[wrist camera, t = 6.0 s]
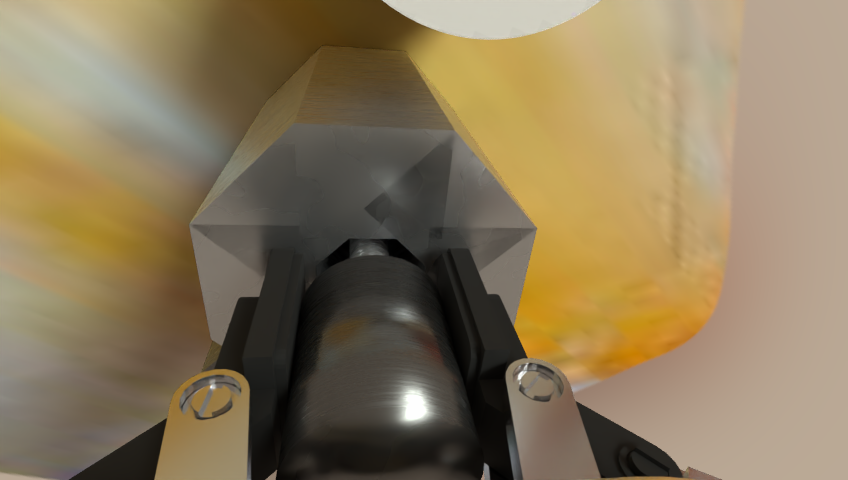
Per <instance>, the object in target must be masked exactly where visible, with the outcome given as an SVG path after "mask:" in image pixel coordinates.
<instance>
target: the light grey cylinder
mask: <svg viewBox="0 0 848 480" xmlns="http://www.w3.org/2000/svg"><path fill="white" fill-rule="evenodd" d="M382 1H384V2H385V3H386V4H388V5H389V6H390V7H392V8H393V9H395V10H396V11H398V12H400V13H401V14H403V15H404V16H406V17H408V18H410V19H412V20H414V21H415V22H417V23H420V24H422V25H424V26H427V27H429V28H431V29H434V30H437V31H440V32H443V33H447V34H451V35H455V36H459V37H466V38H473V39H507V38H515V37H521V36H525V35H530V34H534V33H537V32H541V31H544V30H547V29H549V28H552V27H555V26H557V25H559V24H562V23H564V22H566V21H568V20H570V19H572V18H574V17H576V16H577V15H579V14H581V13H583V12H584V11H586V10H588V9H589V8H591V7H592V6H594V5H595V4H597V3H598V2H599V1H601V0H382Z"/></svg>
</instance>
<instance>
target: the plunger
mask: <svg viewBox="0 0 848 480" xmlns="http://www.w3.org/2000/svg"><path fill="white" fill-rule="evenodd" d="M483 471H484V456H483V452H482V448H481V445H480V441H479V437H478V433H477V430H476V426H475V422H474V419H473V415H472V411H471V407H470V404H469V400H468V396H467V393H466V389H465V385H464V381H463V378H462V374H461V370H460V367H459V363H458V359H457V355H456V352H455V348H454V344H453V341H452V337H451V333H450V329H449V326H448V322H447V318H446V315H445V311H444V307H443V303H442V300H441V296H440V293H439V290H438V288H437V286H436V284H435V283H434V281H433V280H432V279H431V278H430V276H429V275H428V274H427V273H426V272H424V271H423V270H422V269H421V268H419V267H417V266H416V265H414V264H412V263H410V262H408V261H405V260H403V259H399V258H396V257H391V256H389V251H388V244H387V239H365V238H350V259H347V260H344V261H342V262H339V263H337V264H335V265H333V266H331V267H330V268H328V269H327V270H325V271H324V272H323V273H321V274H320V275H319V276H318V277H317V278H316V279H315V280H314V281H313V282H312V284H311V285H310V286H309V288H308V290H307V291H306V293H305V296H304V298H303V301H302V308H301V314H300V321H299V328H298V335H297V342H296V348H295V355H294V362H293V369H292V376H291V383H290V389H289V396H288V401H287V407H286V414H285V421H284V427H283V434H282V441H281V448H280V455H279V461H278V468H277V475H276V480H481V478H482V475H483Z"/></svg>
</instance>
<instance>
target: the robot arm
mask: <svg viewBox="0 0 848 480" xmlns="http://www.w3.org/2000/svg"><path fill="white" fill-rule="evenodd" d="M436 286H437V288H438V290H439V293H440V296H441V300H442V303H443V307H444V311H445V315H446V318H447V322H448V326H449V329H450V333H451V337H452V341H453V344H454V348H455V352H456V355H457V359H458V363H459V367H460V370H461V374H462V378H463V381H464V385H465V389H466V393H467V396H468V400H469V404H470V407H471V411H472V415H473V419H474V422H475V426H476V430H477V433H478V437H479V441H480V445H481V448H482V452H483V456H484V477H485V480H722V479H719V478H716V477H714V476H711V475H709V474H706V473H704V472H701V471H698V470H696V469H693V468H691V467H688V468H687V469H686V471H683V470H680V469H679V467H678V466H677V465H676V463H675V462H674V461H673V460H672V459H671V458H670V457H669V456H668V454H666V453H665V452H664V451H662V450H661V449H660V448H658V447H657V446H655V445H653V444H652V443H650V442H648V441H646V440H644V439H643V438H641V437H639V436H637V435H636V434H634V433H632V432H630V431H628V430H626V429H625V428H623V427H621V426H619V425H618V424H616V423H614V422H612V421H611V420H609V419H607V418H605V417H603V416H601V415H600V414H598V413H596V412H594V411H593V410H591V409H589V408H587V407H585V406H584V405H582V404H580V403H578V402H576V401H575V398H574V395H573V392H572V389H571V386H570V383H569V381H568V379H567V377H566V376H565V375H564V374H563V373H562V372H561V371H560V370H559V369H558V368H557V367H555V366H554V365H552V364H550V363H548V362H545V361H543V360H539V359H534V358H527V356H526V353H525V351H524V349H523V347H522V344H521V342H520V340H519V338H518V335H517V333H516V331H515V329H514V326H513V324H512V322H511V320H510V318H509V315H508V313H507V311H506V309H505V306H504V304H503V302H502V300H501V298H500V296H499V295H498V294H487V291H486V289H485V287H484V284H483V282H482V279H481V277H480V274H479V272H478V270H477V267H476V265H475V262H474V260H473V257H472V255H471V253H470V250H469V249H468V248H448V250H447V253H441V255H440V259H439V268H438V276H437V284H436ZM305 293H306V290H305V271H304V255H303V253H296V250H295V248H273V249H272V253H271V256H270V260H269V263H268V267H267V270H266V274H265V278H264V281H263V285H262V288H261V292H260V295H259V297H240V298H239V299H238V301H237V303H236V306H235V309H234V312H233V315H232V318H231V321H230V324H229V327H228V330H227V333H226V336H225V339H224V341H223V344H222V347H221V350H220V353H219V356H218V359H217V362H216V365H215V368H214V370H210V371H206V372H202V373H200V374H198V375H196V376H193V377H191V378H190V379H189V380H187V381H186V382H185V383H183V384H182V385H181V386H180V387H179V388H178V389H177V391H176V392H175V393H174V395H173V398H172V400H171V403H170V408H169V412H168V417H167V418H166V419H165V420H163V421H162V422H160V423H158V424H157V425H155V426H154V427H152V428H150V429H149V430H147V431H146V432H144V433H142V434H141V435H139V436H138V437H136V438H134V439H133V440H131V441H130V442H128V443H127V444H125V445H123V446H122V447H120V448H119V449H117V450H115V451H114V452H112V453H111V454H109V455H107V456H106V457H104V458H103V459H101V460H99V461H98V462H96V463H95V464H93V465H91V466H90V467H88V468H87V469H85V470H84V471H82V472H80V473H79V474H77V475H76V476H74V477H72V478H71V479H69V480H265V479H266V478H268V477H269V476H270V475H271V474H272V473H274V472H275V471H276V470H277V468H278V461H279V455H280V448H281V441H282V434H283V427H284V421H285V414H286V407H287V401H288V396H289V389H290V383H291V376H292V369H293V362H294V355H295V348H296V342H297V335H298V328H299V321H300V314H301V308H302V301H303V298H304V296H305Z"/></svg>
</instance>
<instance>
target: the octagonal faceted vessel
mask: <svg viewBox="0 0 848 480" xmlns="http://www.w3.org/2000/svg"><path fill="white" fill-rule="evenodd" d="M189 227H190V233H191V238H192V243H193V248H194V254H195V259H196V264H197V269H198V274H199V280H200V285H201V290H202V295H203V301H204V306H205V311H206V316H207V322H208V327H209V332H210V337H211V340H213V342H212V344H211V347H210V350H209V352H208V355H207V358H206V360H205V363H204V366H203V369H202V371H201V373H202V372H206V371H210V370H214V368H215V365H216V362H217V359H218V356H219V353H220V350H221V347H222V344H223V341H224V339H225V336H226V333H227V330H228V327H229V324H230V321H231V318H232V315H233V312H234V309H235V306H236V303H237V301H238V299H239V298H240V297H259V295H260V292H261V288H262V285H263V281H264V278H265V274H266V270H267V267H268V263H269V260H270V256H271V253H272V249H273V248H295V250H296V253H303V255H304V271H305V290H306V291H307V290H308V288H309V286H310V285H311V284H312V282H313V281H314V280H315V279H316V278H317V277H318V276H319V275H320V274H321V273H323V272H324V271H325V270H327V269H328V268H330V267H331V266H333V265H335V264H337V263H339V262H342V261H344V260H347V259H350V238H365V239H387V244H388V251H389V256H391V257H396V258H399V259H403V260H405V261H408V262H410V263H412V264H414V265H416V266H417V267H419V268H421V269H422V270H423V271H424V272H426V273H427V274H428V275H429V276H430V278H431V279H432V280H433V281H434V283H435V284H437V276H438V268H439V259H440V255H441V253H447V250H448V248H468V249H469V250H470V253H471V255H472V257H473V260H474V262H475V265H476V267H477V270H478V272H479V274H480V277H481V279H482V282H483V284H484V287H485V289H486V291H487V294H498V295H499V296H500V298H501V300H502V302H503V304H504V306H505V309H506V311H507V313H508V315H509V318H510V320H511V322H512V324H513V326H514V323H515V319H516V314H517V310H518V306H519V302H520V298H521V293H522V289H523V285H524V281H525V277H526V272H527V268H528V264H529V260H530V255H531V251H532V247H533V243H534V239H535V234H536V230H537V228H536V226H535V225H534V223H533V222H532V221H531V219H530V218H529V216H528V215H527V213H526V212H525V211H524V209H523V208H522V206H521V205H520V204H519V202H518V201H517V199H516V198H515V196H514V195H513V194H512V192H511V191H510V189H509V188H508V187H507V185H506V184H505V182H504V181H503V179H502V178H501V177H500V175H499V174H498V172H497V171H496V170H495V168H494V167H493V165H492V164H491V162H490V161H489V160H488V158H487V157H486V155H485V154H484V153H483V151H482V150H481V148H480V147H479V145H478V144H477V143H476V141H475V140H474V138H473V137H472V136H471V134H470V133H469V131H468V130H467V128H466V127H465V126H464V124H463V123H462V121H461V120H460V119H459V117H458V116H457V114H456V113H455V111H454V110H453V109H452V108H451V107H450V105H449V104H448V103H447V102H446V100H445V99H444V98H443V97H442V96H441V94H440V93H439V92H438V91H437V89H436V88H435V87H434V86H433V85H432V83H431V82H430V81H429V80H428V78H427V77H426V76H425V75H424V73H423V72H422V71H421V70H420V69H419V67H418V66H417V65H416V64H415V62H414V61H413V60H412V59H411V58H410V56H409V55H408V54H407V53H406V51H395V50H381V49H368V48H354V47H340V46H326V45H322V46H321V47H320V48H319V49H318V50H317V51H316V52H315V53H314V54H313V55H312V56H311V57H310V58H309V59H308V60H307V61H306V62H305V63H304V64H303V65H302V66H301V67H300V68H299V69H298V70H297V71H296V72H295V73H294V74H293V75H292V76H291V77H290V78H289V79H288V80H287V81H286V82H285V83H284V84H283V85H282V86H281V87H280V88H279V89H278V90H277V91H276V92H275V93H274V94H273V95H272V96H271V97H270V98H269V99H268V100H267V101H266V103H265V104H264V106H263V107H262V109H261V111H260V112H259V114H258V115H257V117H256V119H255V120H254V122H253V123H252V125H251V127H250V128H249V130H248V131H247V133H246V134H245V136H244V138H243V139H242V141H241V142H240V144H239V146H238V147H237V149H236V150H235V152H234V154H233V155H232V157H231V158H230V160H229V162H228V163H227V165H226V166H225V168H224V169H223V171H222V173H221V174H220V176H219V177H218V179H217V181H216V182H215V184H214V185H213V187H212V189H211V190H210V192H209V193H208V195H207V196H206V198H205V200H204V201H203V203H202V204H201V206H200V208H199V209H198V211H197V212H196V214H195V216H194V217H193V219H192V220H191V222H190V223H189Z"/></svg>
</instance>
